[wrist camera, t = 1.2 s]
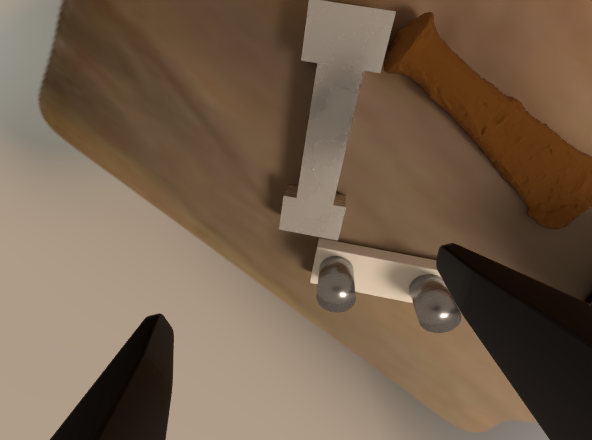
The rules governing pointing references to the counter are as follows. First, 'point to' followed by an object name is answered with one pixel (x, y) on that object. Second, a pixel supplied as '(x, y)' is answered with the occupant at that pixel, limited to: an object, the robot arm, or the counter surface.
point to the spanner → (332, 108)
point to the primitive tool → (497, 126)
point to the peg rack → (382, 282)
